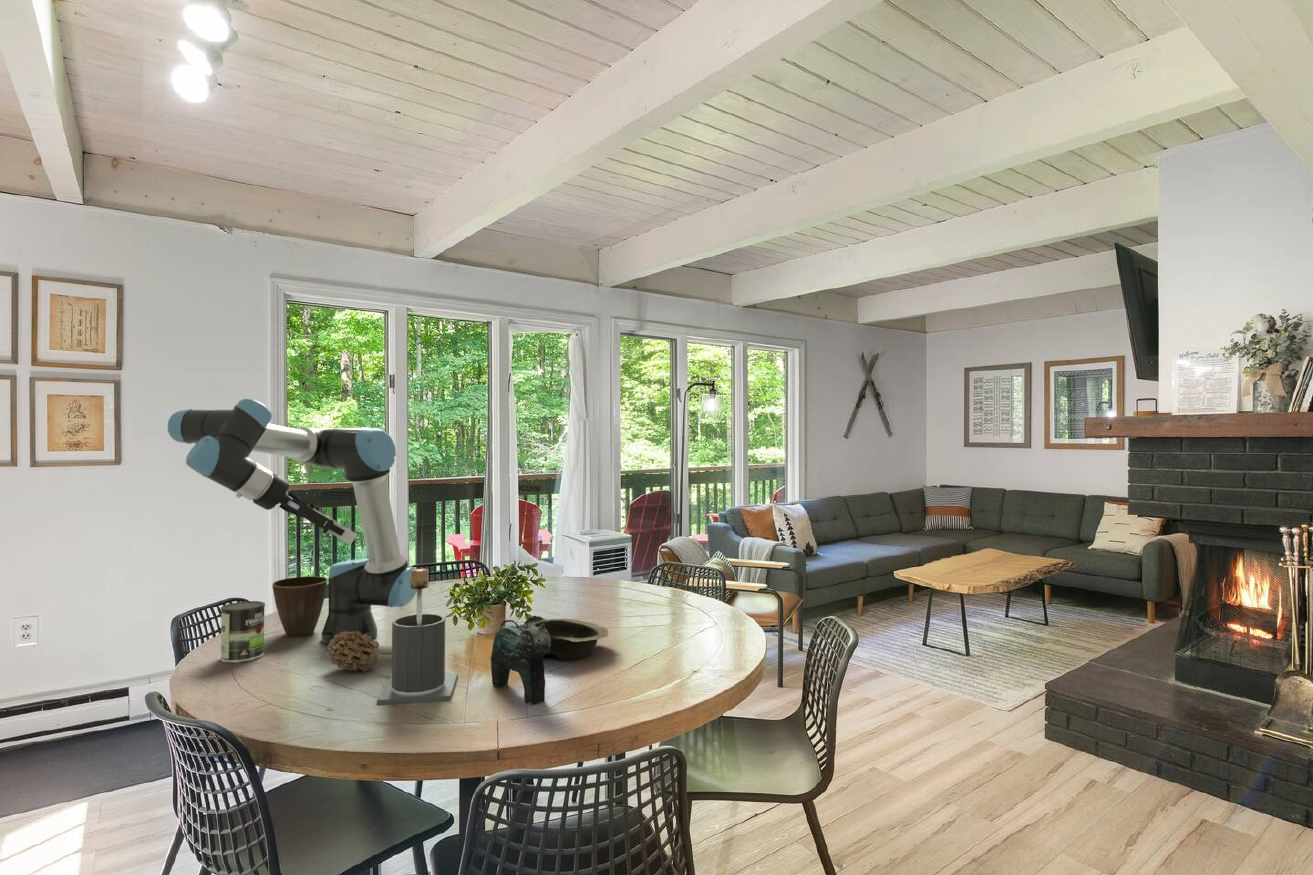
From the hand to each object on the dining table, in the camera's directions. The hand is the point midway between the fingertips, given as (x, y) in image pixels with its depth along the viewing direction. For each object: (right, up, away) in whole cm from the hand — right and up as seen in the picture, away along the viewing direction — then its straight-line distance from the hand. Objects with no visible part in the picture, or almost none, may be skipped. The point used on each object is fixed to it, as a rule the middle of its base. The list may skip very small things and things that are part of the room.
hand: (343, 532), depth 164 cm
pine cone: (+1, -37, +12) cm, 39 cm away
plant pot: (-34, -37, +44) cm, 67 cm away
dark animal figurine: (+42, -38, -3) cm, 57 cm away
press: (+18, -37, 0) cm, 42 cm away
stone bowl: (+49, -38, +29) cm, 69 cm away
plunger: (+19, -35, -2) cm, 40 cm away
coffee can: (-38, -37, +22) cm, 58 cm away
